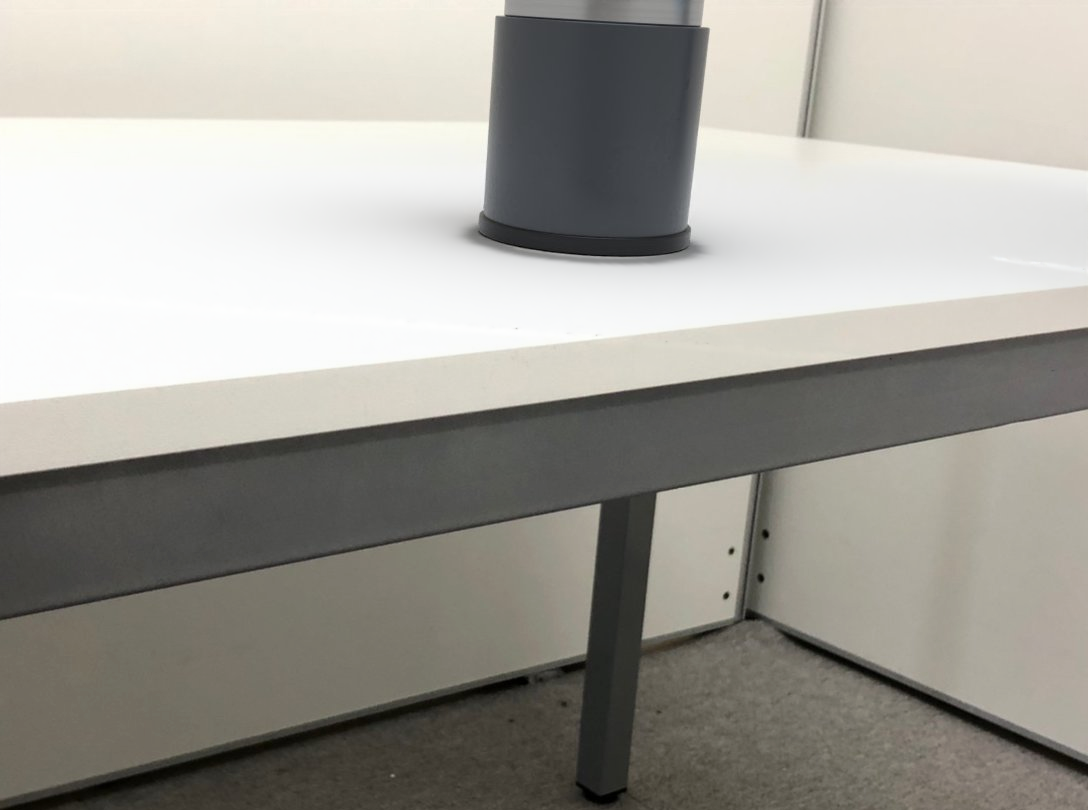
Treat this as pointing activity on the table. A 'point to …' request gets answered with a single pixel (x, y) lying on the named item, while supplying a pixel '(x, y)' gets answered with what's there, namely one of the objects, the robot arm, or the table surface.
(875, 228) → the table surface
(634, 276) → the table surface
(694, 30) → the dark grey upright cylinder
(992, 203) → the table surface
